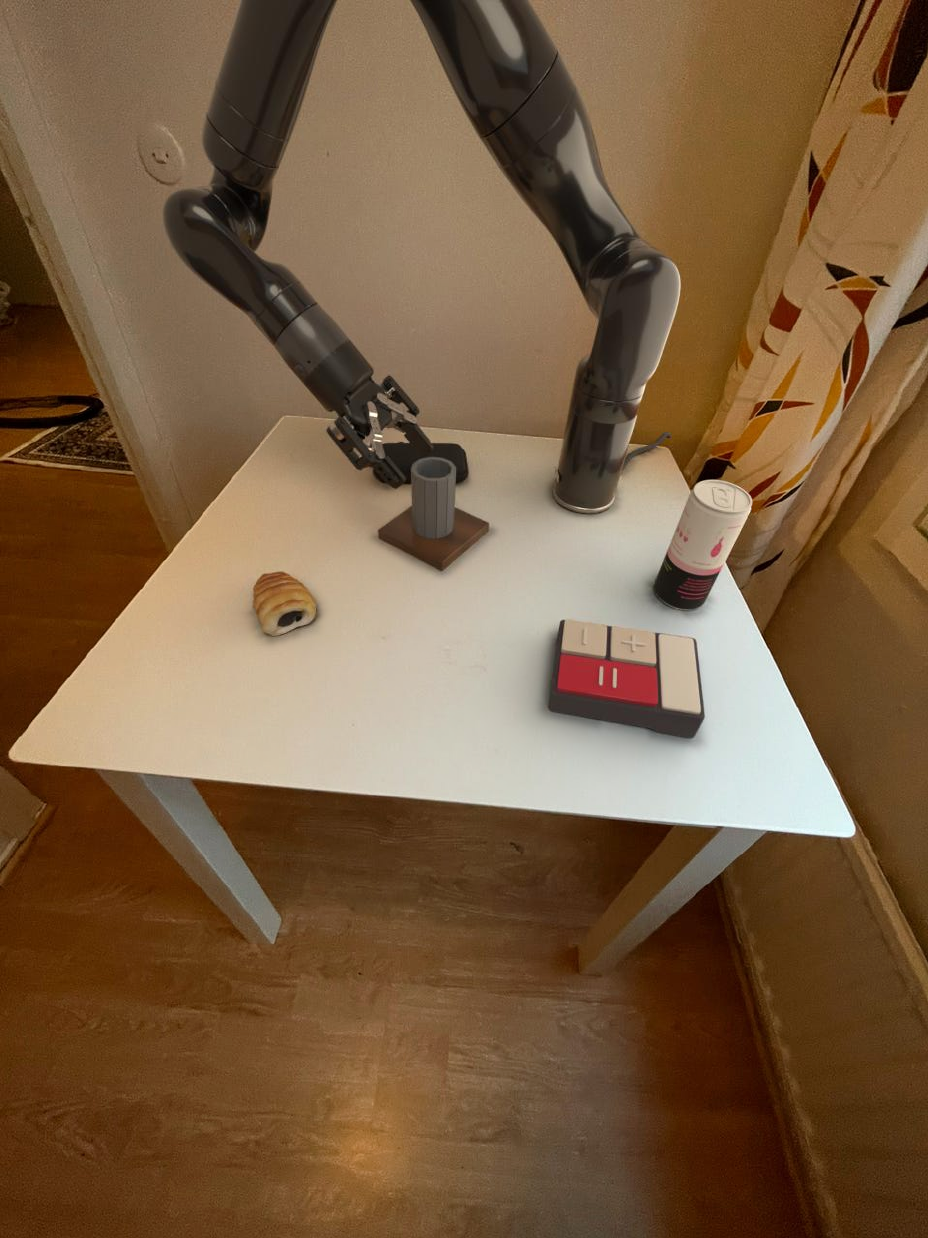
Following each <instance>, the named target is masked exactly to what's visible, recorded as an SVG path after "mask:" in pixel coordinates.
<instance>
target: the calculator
mask: <svg viewBox="0 0 928 1238" xmlns="http://www.w3.org/2000/svg"><path fill="white" fill-rule="evenodd" d="M701 677H702V676H701V669H700V661H699V650H698V643H697V639H696V638H694V637H689V636H682V635H675V634H669V633H661V632H655V631H651V630H646V629H637V628H632V627H631V628H630V627H623V626H617V625H612V626H611V625H606V624H602V623H595V622H588V621H583V620H582V621H581V620H575V619H561V620H560V621H559V625H558V631H557V637H556V644H555V653H554V660H553V667H552V675H551V684H550V692H549V701H548V709H549V711H550V712H553V713H558V714H565V715H571V716H577V717H584V718H587V719H588V718H589V719H594V720H601V721H605V722H606V721H609V722H612V723H618V724H619V723H620V724H624V725H625V724H626V725H630V726H637V727H643V728H649V729H651V730H653V731H654V732H656V733H659V734H663V735H671V736H676V737H682V738H689V739H693V738H695V737H696V735H697V733H698V731H699V729H700V728H701V726H702V724H703V722H704V721H705V718H706V714H705V705H704V704H705V703H704V697H703V695H704V694H703V687H702V679H701Z"/></svg>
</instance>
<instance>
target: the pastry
mask: <svg viewBox="0 0 928 1238" xmlns="http://www.w3.org/2000/svg"><path fill="white" fill-rule="evenodd" d="M252 596H253V601H252V610H253V611H254V613H255V614H256V616H257V619H258V621H259V623H260V626H261V630H262V632H263V633H265V634H267V635H269V636H272V637H278V636H280V635H283V634H286V633H288V632H290V631H292V630H294V629H296V628H298V627H303V626H305V625H309V624H310V623H311V622H312V621H313V620H315V617H316V615H317V602H316V600H315V599H314V597H313V595H312V594H311V592H310V591H309V589H308V588H307V587H306V586H305V585H304V583H302V582H300V581H299V579H297V578H294V577H293V576H291V575H290V574H289V573H287V572H285V571H274V572H271V573H269V572H268V573H262V574H261V575H260V577H259V578H258V579H256V582H255V584H254V585H253V594H252Z"/></svg>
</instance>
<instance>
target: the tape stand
mask: <svg viewBox="0 0 928 1238" xmlns="http://www.w3.org/2000/svg"><path fill="white" fill-rule="evenodd" d="M432 478H437V477H432ZM489 530H490V522H489V521H486V520H484V519H482V518H480V517H477V516H475V515H473V514H471V513H469V512H466V511H465V510H462V509H460V508H458V507H456V506H455V510H454V527H453V531H452V532H451V533H450V534H449V535H447V536H446V537H442V538H438V539H430V538H424V537H422V536H420V535H418V534H417V533H416V532H415V531H414V529H413V527H412V505H410V506H409V507H408V508H407V509H405V510H404V511H403V512H401V513H400V514H398V515H396V516H395V517H393V518H392V519H391V520H389V521H388V522H387V523H385V524H384V525H382V526H381V527H380V528H378V529H377V536H378V539H379V540H381V541H383V542H384V543H386V544H388V545H390V546H393V547H394V548H396V549H398V550H400V551H402V552H403V553H406V554H407V555H409V556H412V557H414V558H415V559H417V560H419V561H421V562H423V563H425V564H427V565H429V566H431V567H433V568H434V569H437V570H439V571H440V572H443V571H444V570H445V569H447V568H448V567H449V566H450V565H451V564H452V563H454V562H455V561H456V560H457V559H458V558H459V557H460V556H462V554H464V553H465V552H466V551H467V550H469V548H471V547H472V546H473V545H474V544H476V543H477V542H478V541H479V540H480V539H482V538H483V537H484V536H485V535H486V534H487V533H489Z"/></svg>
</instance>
